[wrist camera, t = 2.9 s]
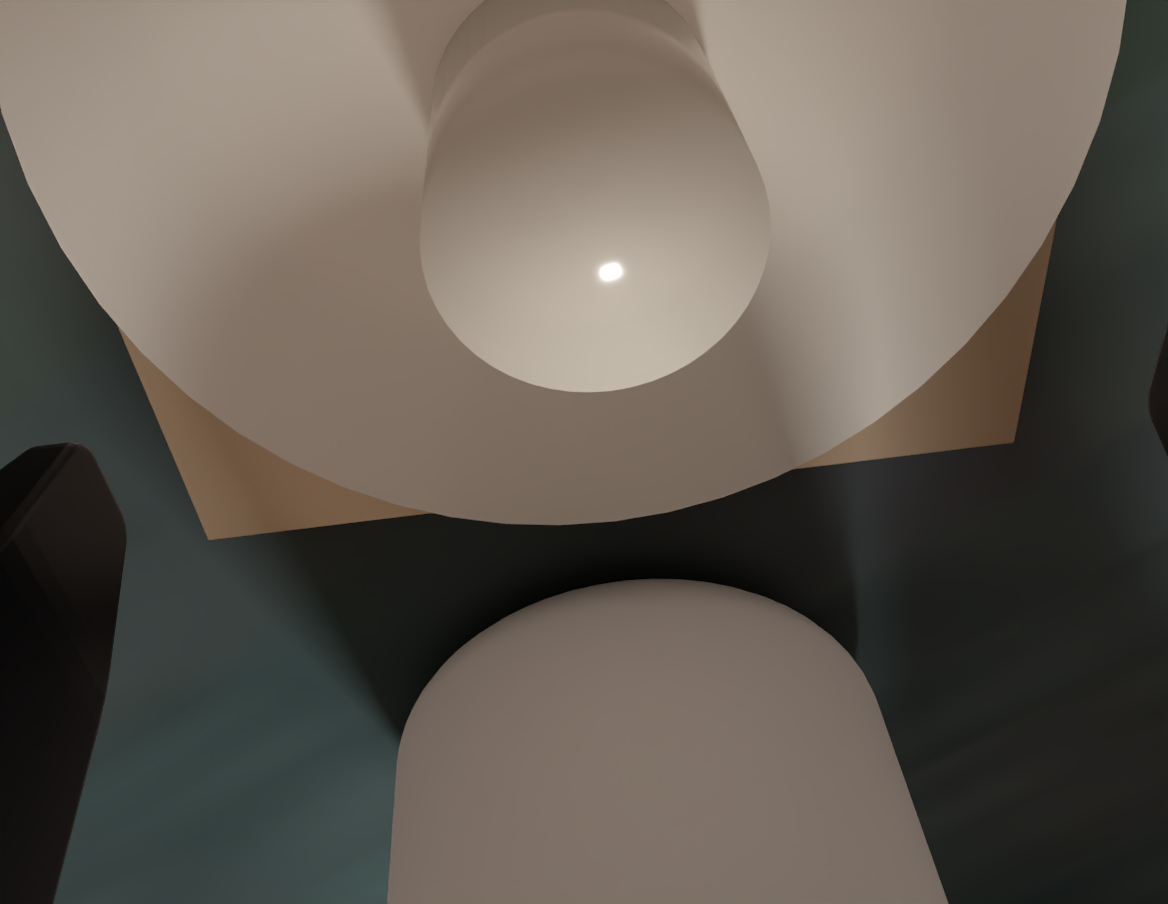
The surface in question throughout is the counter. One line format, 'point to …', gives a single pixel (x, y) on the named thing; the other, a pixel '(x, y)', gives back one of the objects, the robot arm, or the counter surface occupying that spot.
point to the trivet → (304, 500)
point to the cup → (653, 761)
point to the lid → (552, 221)
